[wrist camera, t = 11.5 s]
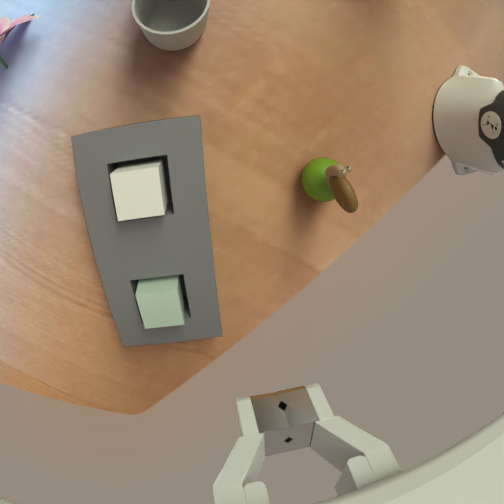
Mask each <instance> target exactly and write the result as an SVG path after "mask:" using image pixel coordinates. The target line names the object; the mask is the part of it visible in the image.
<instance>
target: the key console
mask: <svg viewBox="0 0 504 504" xmlns="http://www.w3.org/2000/svg"><path fill="white" fill-rule="evenodd" d="M71 140H72V147H73V154H74V161H75V168H76V174H77V180H78V185H79V191H80V196H81V201H82V206H83V211H84V215H85V220H86V224H87V229H88V233H89V237H90V241H91V245H92V249H93V253H94V257H95V260H96V264H97V268H98V271H99V275H100V278H101V281H102V285H103V288H104V291H105V294H106V298H107V301H108V304H109V307H110V310H111V313H112V316H113V319H114V322H115V324H116V327H117V330H118V333H119V336H120V338H121V341H122V344H123V346H124V347H125V346H138V345H150V344H161V343H171V342H181V341H190V340H198V339H206V338H214V337H222V328H221V321H220V313H219V305H218V297H217V289H216V280H215V271H214V263H213V254H212V244H211V235H210V225H209V215H208V205H207V194H206V183H205V171H204V159H203V147H202V133H201V119H200V115H196V116H186V117H178V118H170V119H162V120H155V121H148V122H142V123H135V124H129V125H124V126H118V127H113V128H108V129H103V130H98V131H93V132H88V133H84V134H80V135H77V136H73V137H71ZM160 159H163V165H164V174H165V182H166V190H167V198H168V203H167V207H166V211H165V215H160V216H152V217H145V218H137V219H130V220H123V221H118V218H117V213H116V207H115V202H114V196H113V190H112V184H111V178H110V174H111V173H112V172H113V171H114V170H116V169H117V168H118V167H119V166H121V165H127V164H133V163H139V162H146V161H153V160H160ZM172 275H179V276H180V282H181V287H182V293H183V298H184V325H177V326H168V327H158V328H148V329H145V327H144V324H143V320H142V317H141V313H140V310H139V306H138V303H137V299H136V296H135V294H136V290H137V286H138V282H139V279H146V278H155V277H164V276H172Z"/></svg>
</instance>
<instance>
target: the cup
mask: <svg viewBox="0 0 504 504" xmlns="http://www.w3.org/2000/svg"><path fill="white" fill-rule="evenodd" d="M209 6H210V0H132V6H131V8H132V14H133V17H134V18H135V20H136V22H137V24H138V25H139V27H140V28H141V30H142V32H143V33H144V35H145V36H146V38H147V40H148V41H149V42H150V43H152V44H153V45H154V46H155V47H157V48H159V49H162V50H167V51H177V50H181V49H185V48H187V47H189V46H191V45H192V44H194V43H195V42H196V41H197V40H198V39H199V38H200V37H201V35H202V34H203V31H204V29H205V27H206V22H207V16H208V11H209Z"/></svg>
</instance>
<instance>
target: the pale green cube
mask: <svg viewBox="0 0 504 504" xmlns="http://www.w3.org/2000/svg"><path fill="white" fill-rule="evenodd" d="M135 296H136V299H137V303H138V306H139V310H140V313H141V317H142V320H143V324H144V327H145V329H148V328H158V327H168V326H177V325H184V298H183V293H182V287H181V282H180V276H179V275H172V276H164V277H155V278H146V279H139V282H138V286H137V290H136V294H135Z"/></svg>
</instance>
